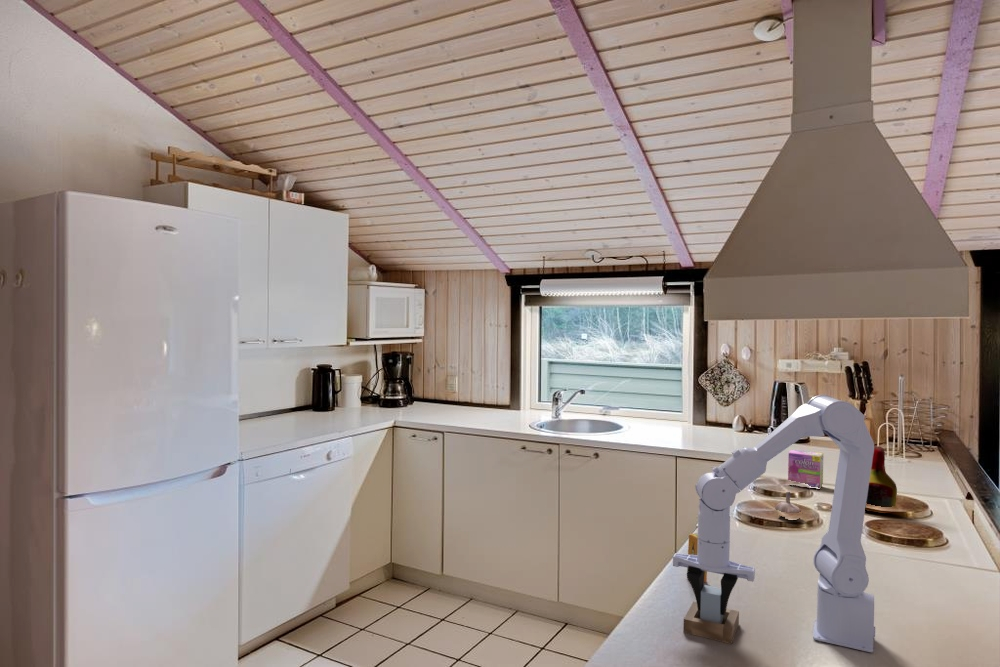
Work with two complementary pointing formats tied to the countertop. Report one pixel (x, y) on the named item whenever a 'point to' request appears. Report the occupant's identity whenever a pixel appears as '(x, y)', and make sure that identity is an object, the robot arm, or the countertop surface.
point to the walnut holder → (711, 625)
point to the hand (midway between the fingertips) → (711, 610)
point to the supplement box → (694, 549)
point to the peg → (711, 604)
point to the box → (806, 467)
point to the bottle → (880, 482)
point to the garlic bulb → (787, 506)
